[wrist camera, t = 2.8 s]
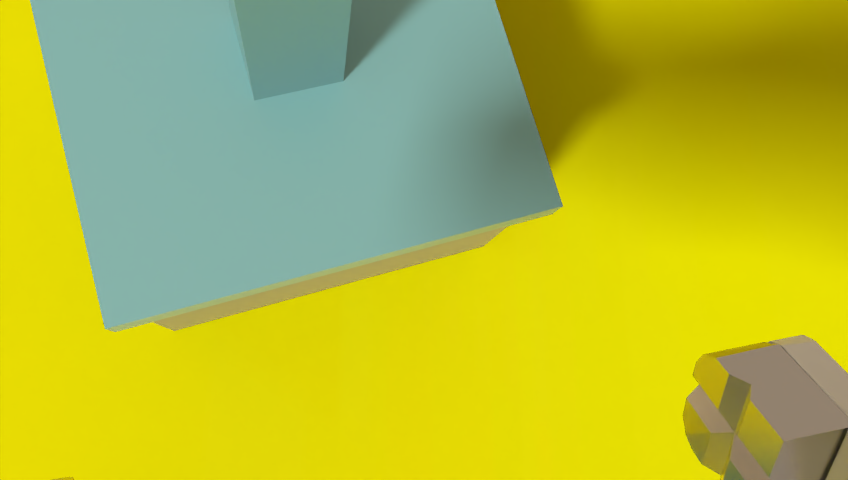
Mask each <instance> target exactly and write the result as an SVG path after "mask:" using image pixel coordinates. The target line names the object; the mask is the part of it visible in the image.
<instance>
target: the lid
mask: <svg viewBox="0 0 848 480" xmlns="http://www.w3.org/2000/svg"><path fill="white" fill-rule="evenodd" d="M30 2H31V6H32V11H33V15H34V19H35V24H36V28H37V33H38V37H39V41H40V46H41V50H42V54H43V59H44V63H45V68H46V72H47V76H48V81H49V85H50V90H51V94H52V98H53V103H54V107H55V111H56V116H57V120H58V125H59V129H60V133H61V138H62V142H63V146H64V151H65V155H66V160H67V164H68V168H69V173H70V177H71V182H72V186H73V190H74V195H75V199H76V203H77V208H78V212H79V217H80V221H81V225H82V230H83V234H84V238H85V243H86V247H87V252H88V256H89V260H90V265H91V269H92V273H93V278H94V282H95V287H96V291H97V295H98V300H99V304H100V309H101V313H102V317H103V322H104V326H105V329H107V330H111V331H114V332H117V331H121V330H124V329H128V328H132V327H135V326H139V325H143V324H147V323H150V322H154V321H158V320H161V319H165V318H169V317H172V316H176V315H180V314H184V313H187V312H191V311H195V310H198V309H202V308H206V307H210V306H213V305H217V304H221V303H224V302H228V301H232V300H235V299H239V298H243V297H247V296H250V295H254V294H258V293H261V292H265V291H269V290H273V289H276V288H280V287H284V286H287V285H291V284H295V283H298V282H302V281H306V280H310V279H313V278H317V277H321V276H324V275H328V274H332V273H336V272H339V271H343V270H347V269H350V268H354V267H358V266H361V265H365V264H369V263H373V262H376V261H380V260H384V259H387V258H391V257H395V256H399V255H402V254H406V253H410V252H413V251H417V250H421V249H424V248H428V247H432V246H436V245H439V244H443V243H447V242H450V241H454V240H458V239H462V238H465V237H469V236H473V235H476V234H480V233H484V232H487V231H491V230H495V229H499V228H502V227H506V226H510V225H513V224H517V223H521V222H525V221H528V220H532V219H536V218H539V217H543V216H547V215H551V214H553V213H554V212H555V211H557V210H558V209H560V208H561V207H562V206H563V205H562V202H561V199H560V196H559V193H558V190H557V187H556V184H555V181H554V178H553V175H552V172H551V169H550V166H549V163H548V160H547V157H546V154H545V151H544V148H543V145H542V142H541V139H540V136H539V132H538V129H537V126H536V123H535V120H534V117H533V114H532V111H531V108H530V105H529V102H528V99H527V96H526V93H525V90H524V87H523V84H522V81H521V78H520V75H519V72H518V69H517V66H516V63H515V60H514V57H513V54H512V51H511V48H510V45H509V42H508V39H507V36H506V32H505V29H504V26H503V23H502V20H501V17H500V14H499V11H498V8H497V5H496V2H495V0H30Z"/></svg>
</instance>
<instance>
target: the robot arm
mask: <svg viewBox="0 0 848 480" xmlns="http://www.w3.org/2000/svg"><path fill="white" fill-rule="evenodd" d="M693 377H694V378H695V379H696V381H697V382H698V383H699V385H698V387H697V388H696V389H695V390H694V391H693V392H692V393H691V394H690V395H689V396H688V397H687V398H686V402H685V407H684V412H683V420H684V426H685V433H686V436H687V438H688V441H689V443H690V446H691V448H692V450H693V451H694V453H695V455H696V456H697V458H698V459H699V461H700V462H701V464H702V465H704V466H706V467H708V468H709V469H711V470H713V471H715V472H716V473H718V474H720V475H721V479H720V480H848V373H847V372H846V371H845V370H844V369H843V368H842V367H841V366H840V365H839V364H838V363H837V362H836V361H835V360H834V359H833V358H832V357H831V356H830V355H829V354H828V353H827V352H826V351H825V350H824V349H823V348H822V347H821V346H820V345H819V344H818V343H817V342H816V341H814V340H813V339H811V338H809V337H807V336H805V335H800V336H795V337H790V338H785V339H779V340H774V341H770V342H762V343H757V344H752V345H747V346H742V347H737V348H732V349H727V350H723V351H718V352H713V353H708V354H703V355H702V356H701V357H700V358H699V359H698V361H697V362H696V365H695V368H694V372H693ZM53 480H74V478H73V477H65V478H59V479H53Z"/></svg>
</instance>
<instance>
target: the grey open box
mask: <svg viewBox="0 0 848 480" xmlns="http://www.w3.org/2000/svg"><path fill="white" fill-rule="evenodd" d="M506 227H507V226H506ZM506 227H502V228H499V229H495V230H491V231H487V232H484V233H480V234H476V235H473V236H469V237H465V238H462V239H458V240H454V241H450V242H447V243H443V244H439V245H436V246H432V247H428V248H424V249H421V250H417V251H413V252H410V253H406V254H402V255H399V256H395V257H391V258H387V259H384V260H380V261H376V262H373V263H369V264H365V265H361V266H358V267H354V268H350V269H347V270H343V271H339V272H336V273H332V274H328V275H324V276H321V277H317V278H313V279H310V280H306V281H302V282H298V283H295V284H291V285H287V286H284V287H280V288H276V289H273V290H269V291H265V292H261V293H258V294H254V295H250V296H247V297H243V298H239V299H235V300H232V301H228V302H224V303H221V304H217V305H213V306H210V307H206V308H202V309H198V310H195V311H191V312H187V313H184V314H180V315H176V316H172V317H169V318H165V319H161V320H158V321H154V323H156V324H159V325H161V326H164V327H166V328H169V329H171V330H174V331H175V330H179V329H182V328H186V327H190V326H193V325H197V324H201V323H204V322H208V321H211V320H215V319H219V318H222V317H226V316H230V315H233V314H237V313H241V312H244V311H248V310H252V309H255V308H259V307H263V306H266V305H270V304H274V303H277V302H281V301H285V300H288V299H292V298H296V297H299V296H303V295H307V294H310V293H314V292H317V291H321V290H325V289H328V288H332V287H336V286H339V285H343V284H347V283H350V282H354V281H358V280H361V279H365V278H369V277H372V276H376V275H380V274H383V273H387V272H391V271H394V270H398V269H402V268H405V267H409V266H412V265H416V264H420V263H423V262H427V261H431V260H434V259H438V258H442V257H445V256H449V255H453V254H456V253H460V252H464V251H467V250H471V249H475V248H478V247H482V246H484V245H485V244H486V243H488V242H489V241H490V240H491V239H493V238H494V237H495V236H496V235H497V234H499V233H500V232H501V231H502V230H504V229H505V228H506Z"/></svg>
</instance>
